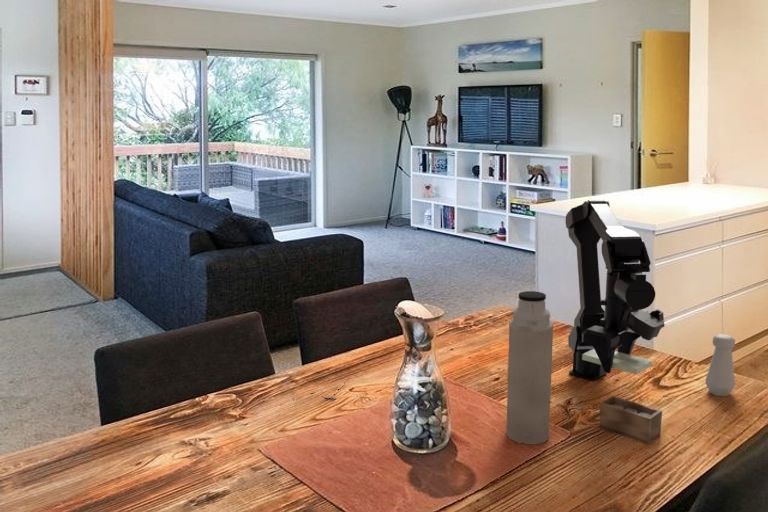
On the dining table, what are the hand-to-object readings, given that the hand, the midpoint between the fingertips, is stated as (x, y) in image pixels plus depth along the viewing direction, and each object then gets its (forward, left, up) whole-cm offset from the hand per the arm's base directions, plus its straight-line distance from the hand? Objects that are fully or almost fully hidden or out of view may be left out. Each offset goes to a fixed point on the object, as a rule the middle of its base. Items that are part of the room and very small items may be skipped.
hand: (615, 368), depth 144 cm
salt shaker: (+13, +22, -8) cm, 27 cm away
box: (+8, -9, -8) cm, 15 cm away
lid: (0, 0, +1) cm, 1 cm away
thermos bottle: (-5, -24, -8) cm, 26 cm away
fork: (-48, -35, -9) cm, 60 cm away
